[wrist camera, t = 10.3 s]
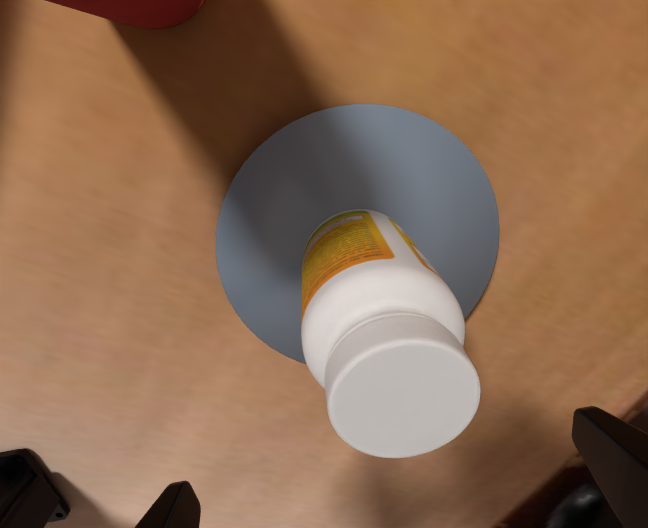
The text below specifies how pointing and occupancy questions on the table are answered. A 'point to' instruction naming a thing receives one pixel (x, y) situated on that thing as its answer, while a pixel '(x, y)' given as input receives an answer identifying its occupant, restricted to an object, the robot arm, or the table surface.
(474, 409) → the supplement bottle
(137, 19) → the paper cup
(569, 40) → the table surface
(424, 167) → the slate dish
